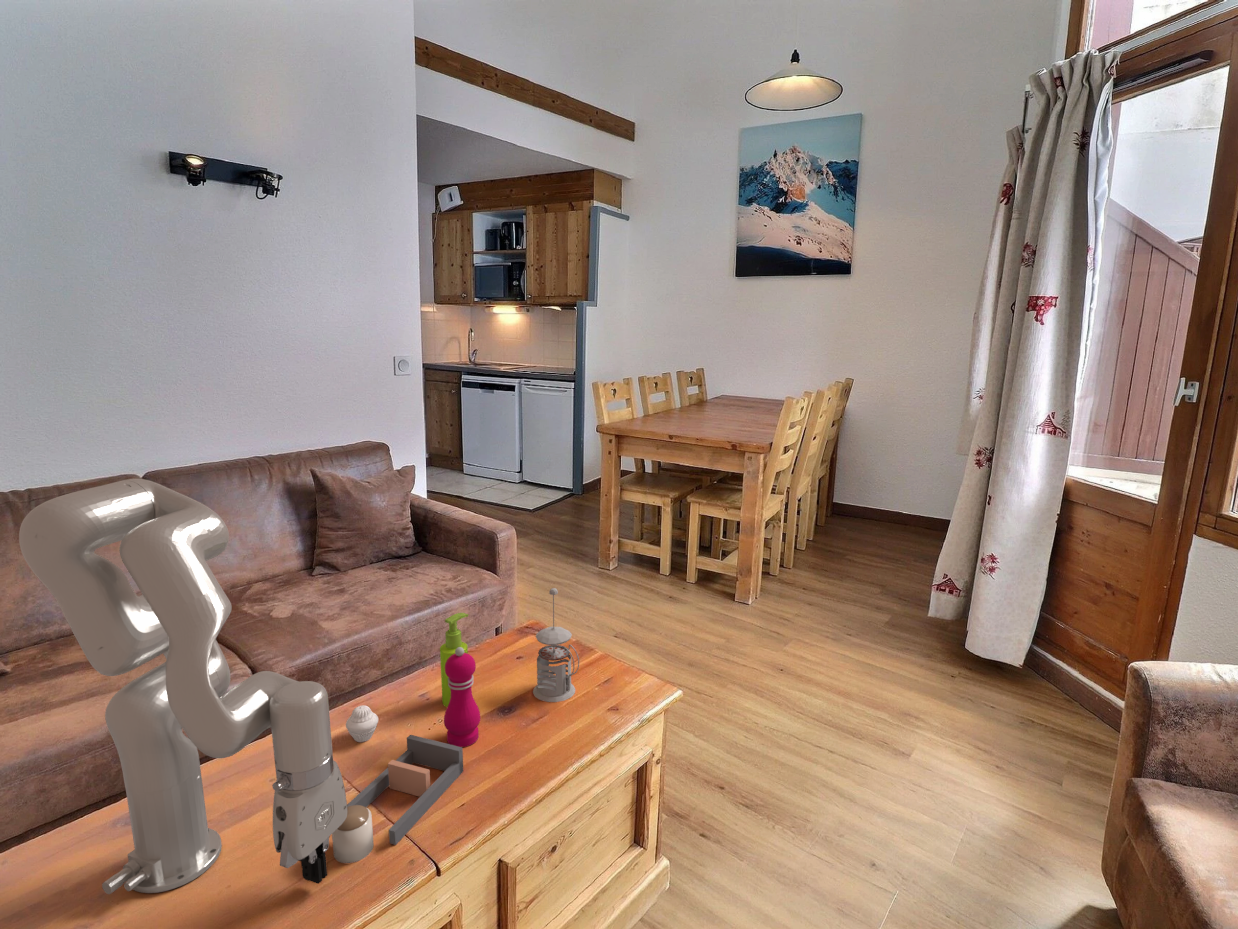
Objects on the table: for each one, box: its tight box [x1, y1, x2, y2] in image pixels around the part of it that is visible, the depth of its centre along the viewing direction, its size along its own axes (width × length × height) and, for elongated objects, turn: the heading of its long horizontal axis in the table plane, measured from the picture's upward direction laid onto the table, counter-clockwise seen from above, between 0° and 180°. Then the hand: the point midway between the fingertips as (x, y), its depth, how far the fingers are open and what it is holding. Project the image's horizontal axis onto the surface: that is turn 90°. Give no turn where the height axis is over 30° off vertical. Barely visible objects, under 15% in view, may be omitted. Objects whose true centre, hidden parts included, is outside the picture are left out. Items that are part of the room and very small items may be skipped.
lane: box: [347, 734, 464, 846], centre depth 122 cm, size 20×12×5 cm, turn 160°
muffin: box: [345, 705, 379, 743], centre depth 139 cm, size 6×6×7 cm
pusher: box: [387, 759, 431, 798], centre depth 124 cm, size 1×8×5 cm, turn 70°
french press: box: [532, 587, 580, 703], centre depth 156 cm, size 10×12×25 cm
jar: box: [331, 805, 374, 864], centre depth 110 cm, size 6×6×6 cm
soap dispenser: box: [439, 612, 469, 708], centre depth 152 cm, size 6×7×20 cm
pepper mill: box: [443, 647, 481, 748], centre depth 138 cm, size 7×7×20 cm
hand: (315, 877), depth 103 cm, fingers closed
